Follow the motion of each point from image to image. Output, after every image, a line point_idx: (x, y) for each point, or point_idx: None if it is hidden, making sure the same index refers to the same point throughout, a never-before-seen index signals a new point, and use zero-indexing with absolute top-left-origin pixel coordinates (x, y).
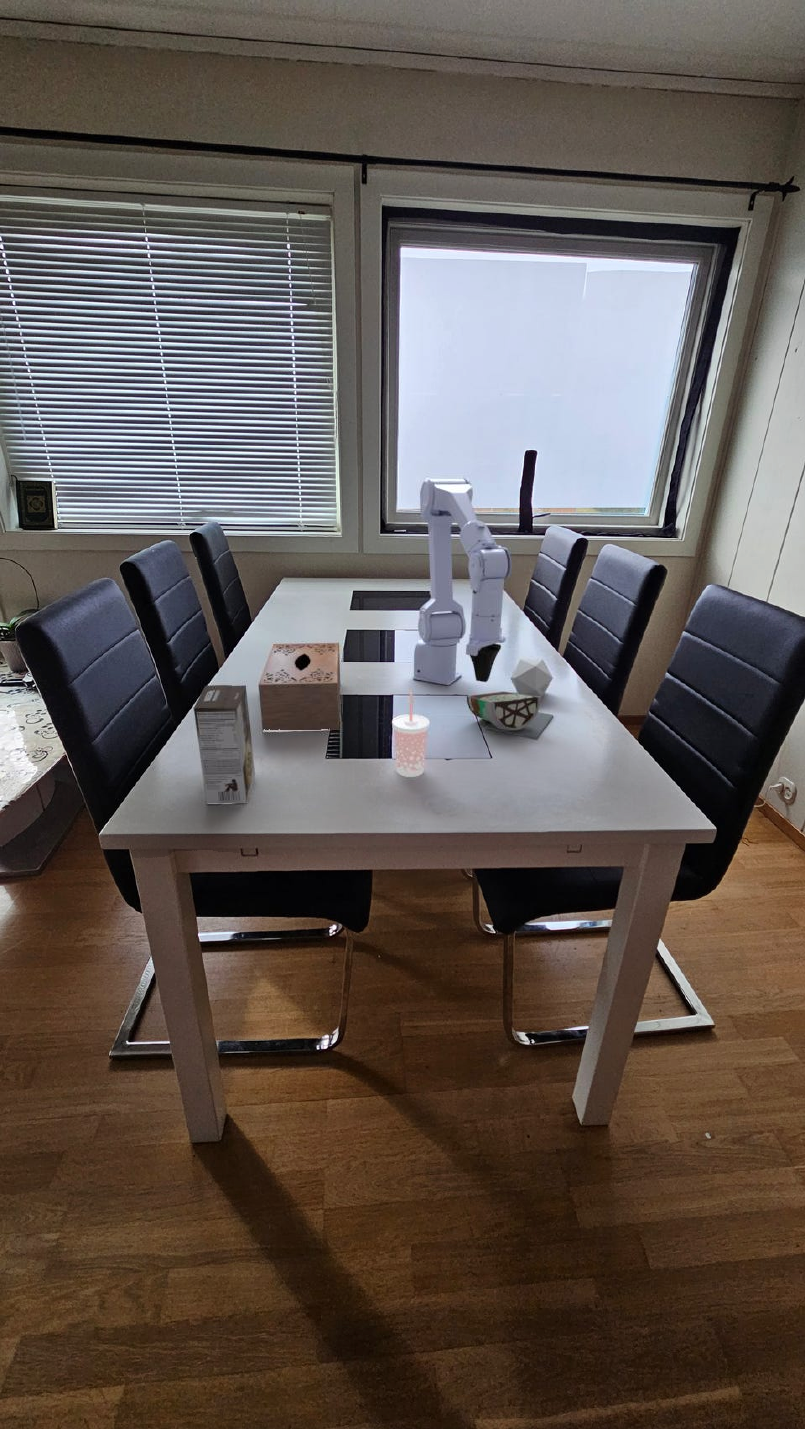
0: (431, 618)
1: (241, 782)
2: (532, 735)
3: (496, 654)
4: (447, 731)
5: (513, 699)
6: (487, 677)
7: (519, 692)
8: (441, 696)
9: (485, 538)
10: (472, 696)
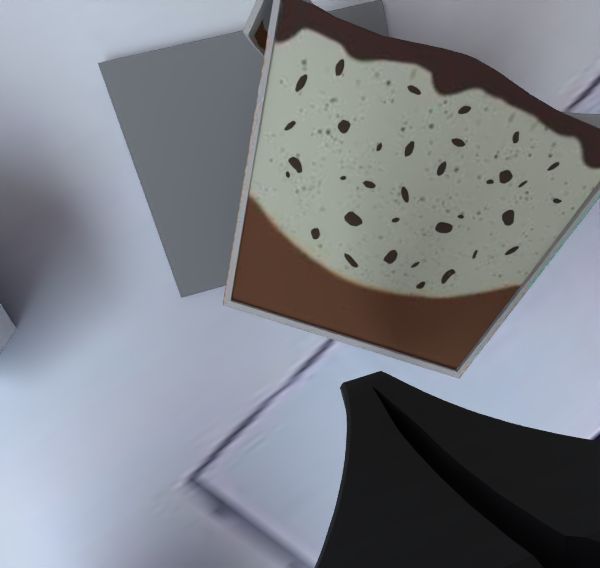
0: None
1: None
2: (376, 27)
3: (387, 518)
4: (514, 315)
5: (444, 101)
6: (395, 378)
7: (7, 334)
8: (274, 529)
9: None
10: (446, 354)
